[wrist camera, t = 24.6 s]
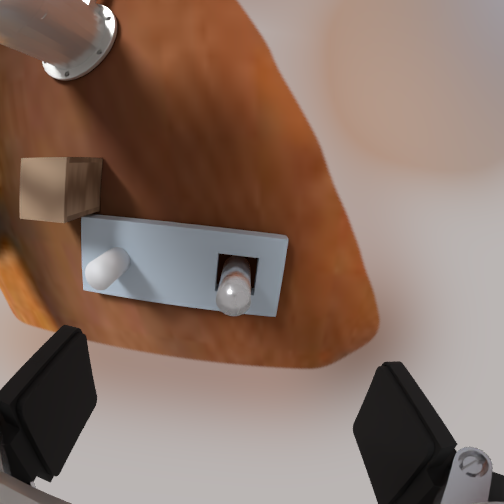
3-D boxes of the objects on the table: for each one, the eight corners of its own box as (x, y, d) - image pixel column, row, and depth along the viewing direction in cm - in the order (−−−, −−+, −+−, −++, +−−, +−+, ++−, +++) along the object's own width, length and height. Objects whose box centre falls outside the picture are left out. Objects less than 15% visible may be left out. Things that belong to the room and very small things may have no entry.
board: (90, 213, 37) (56, 225, 29) (285, 235, 39) (296, 253, 30) (91, 283, 40) (62, 308, 32) (274, 308, 41) (280, 341, 33)
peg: (224, 253, 39) (217, 282, 29) (251, 257, 39) (253, 286, 30) (222, 279, 40) (214, 314, 30) (248, 282, 40) (248, 317, 30)
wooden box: (60, 157, 35) (21, 158, 26) (102, 157, 35) (66, 157, 27) (58, 207, 37) (19, 218, 28) (99, 210, 37) (64, 223, 29)
